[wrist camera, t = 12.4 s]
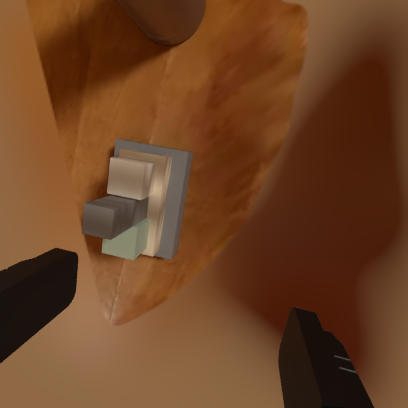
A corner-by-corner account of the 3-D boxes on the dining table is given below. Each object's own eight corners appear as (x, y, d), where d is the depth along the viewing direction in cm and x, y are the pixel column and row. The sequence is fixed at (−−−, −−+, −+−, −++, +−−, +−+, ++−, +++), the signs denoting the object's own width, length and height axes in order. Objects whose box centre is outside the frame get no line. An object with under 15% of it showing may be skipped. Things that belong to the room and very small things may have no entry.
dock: (125, 139, 38) (115, 138, 35) (193, 152, 37) (188, 152, 34) (115, 237, 41) (105, 244, 38) (176, 252, 40) (171, 259, 37)
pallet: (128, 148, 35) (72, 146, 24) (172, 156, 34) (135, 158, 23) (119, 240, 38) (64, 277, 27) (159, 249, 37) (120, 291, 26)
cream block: (126, 157, 33) (110, 157, 29) (157, 162, 32) (144, 164, 28) (123, 188, 33) (106, 193, 30) (153, 194, 33) (140, 200, 29)
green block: (120, 212, 34) (104, 220, 30) (150, 219, 34) (137, 227, 30) (118, 241, 35) (101, 252, 31) (146, 248, 34) (133, 260, 31)
